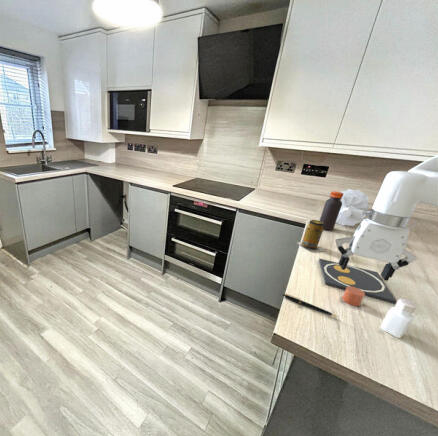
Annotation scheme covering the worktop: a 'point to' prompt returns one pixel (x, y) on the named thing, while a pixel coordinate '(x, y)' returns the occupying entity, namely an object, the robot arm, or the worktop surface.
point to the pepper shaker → (399, 318)
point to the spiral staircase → (352, 207)
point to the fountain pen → (307, 304)
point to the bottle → (331, 210)
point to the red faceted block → (353, 296)
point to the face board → (355, 280)
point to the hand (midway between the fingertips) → (362, 272)
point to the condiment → (312, 236)
